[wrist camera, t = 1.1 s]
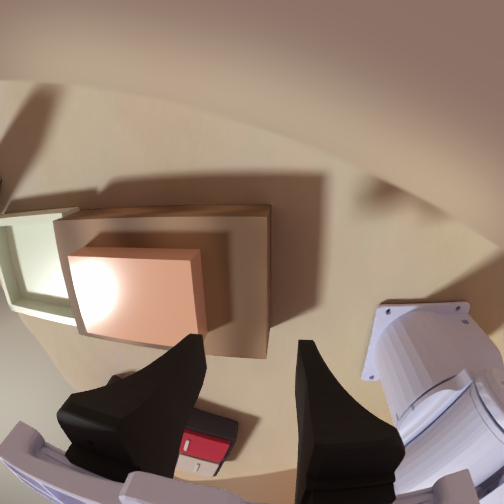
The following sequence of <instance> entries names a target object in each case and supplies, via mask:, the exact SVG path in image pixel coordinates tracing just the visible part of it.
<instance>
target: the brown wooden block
mask: <svg viewBox="0 0 504 504" xmlns="http://www.w3.org/2000/svg"><path fill="white" fill-rule="evenodd" d="M53 227H54V233H55V239H56V244H57V250H58V255H59V260H60V264H61V269H62V273H63V278H64V282H65V286H66V290H67V294H68V297H69V301H70V305H71V308H72V312H73V315H74V318H75V321H76V325H77V328H78V331H79V334H80V335H84V336H89V337H94V338H99V339H104V340H109V341H114V342H119V343H125V344H131V345H137V346H143V347H149V348H156V349H163V350H170V349H171V348H173V347H172V346H165V345H157V344H150V343H144V342H137V341H131V340H125V339H119V338H114V337H108V336H103V335H98V334H93V333H88V332H87V330H86V327H85V324H84V320H83V317H82V314H81V310H80V306H79V303H78V299H77V295H76V291H75V287H74V283H73V279H72V274H71V270H70V265H69V261H68V255H70V254H72V253H74V252H75V251H77V250H79V249H81V248H83V247H122V248H171V249H200V252H201V265H202V277H203V289H204V300H205V310H206V320H207V329H208V333H207V336H206V338H205V340H204V342H203V343H204V351H205V355H215V356H226V357H239V358H255V359H266V356H267V348H268V340H269V332H270V278H271V205H181V206H148V207H125V208H105V209H89V210H81V211H78V212H75V213H72V214H70V215H67V216H64V217H62V218H59V219H57V220H54V221H53Z"/></svg>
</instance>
